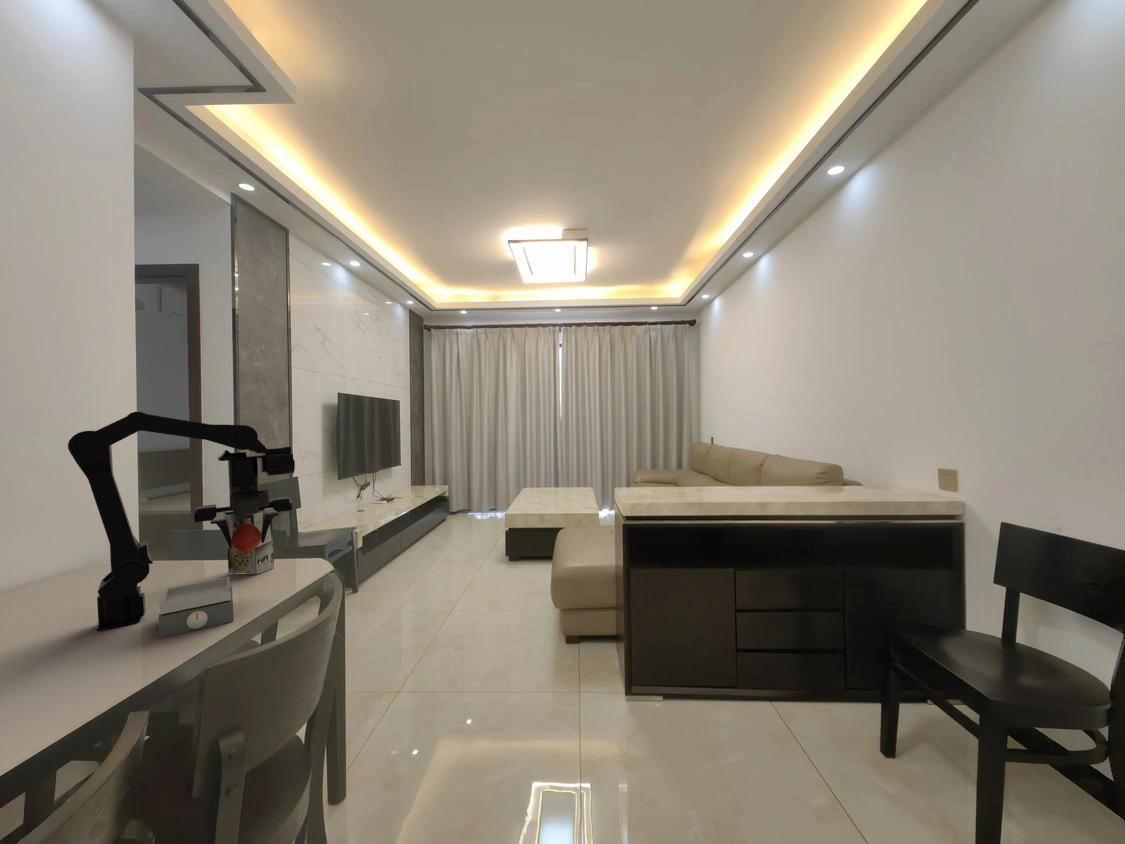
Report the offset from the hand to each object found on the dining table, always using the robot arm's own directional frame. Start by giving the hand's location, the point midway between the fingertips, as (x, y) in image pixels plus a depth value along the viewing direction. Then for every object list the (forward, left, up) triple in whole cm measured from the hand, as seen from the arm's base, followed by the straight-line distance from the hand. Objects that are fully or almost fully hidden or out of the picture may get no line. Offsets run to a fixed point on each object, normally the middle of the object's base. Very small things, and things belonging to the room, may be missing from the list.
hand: (246, 545), depth 113 cm
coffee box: (+1, +20, -11) cm, 23 cm away
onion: (0, 0, -2) cm, 2 cm away
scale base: (-9, -11, -11) cm, 18 cm away
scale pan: (-9, -12, -7) cm, 16 cm away
